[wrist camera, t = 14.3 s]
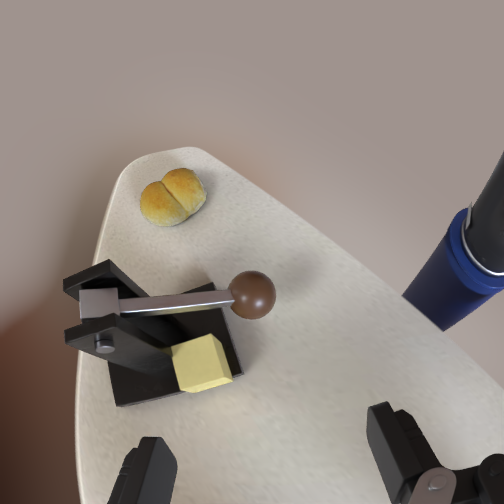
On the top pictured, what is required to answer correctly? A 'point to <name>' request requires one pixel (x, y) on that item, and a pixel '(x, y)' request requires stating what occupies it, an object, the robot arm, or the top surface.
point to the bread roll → (173, 198)
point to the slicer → (142, 337)
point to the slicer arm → (185, 300)
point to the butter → (200, 364)
